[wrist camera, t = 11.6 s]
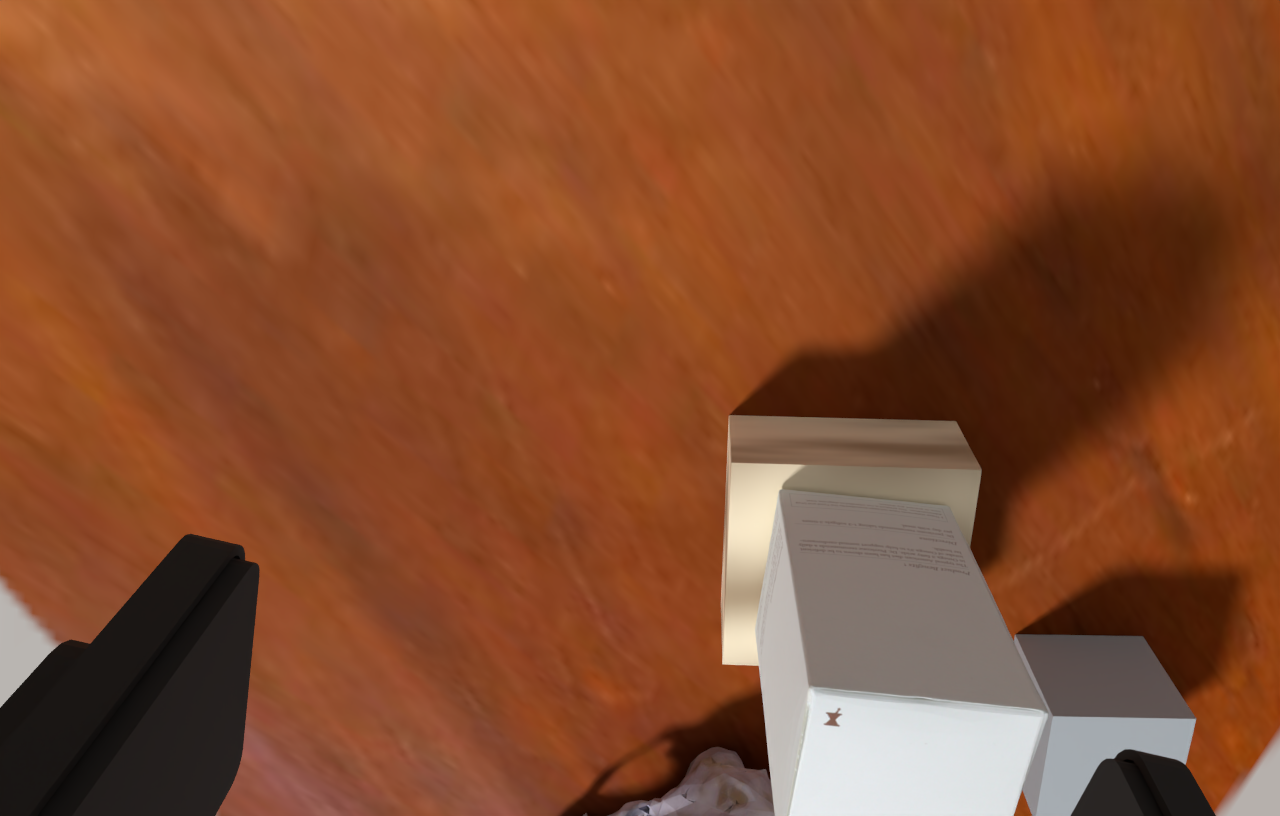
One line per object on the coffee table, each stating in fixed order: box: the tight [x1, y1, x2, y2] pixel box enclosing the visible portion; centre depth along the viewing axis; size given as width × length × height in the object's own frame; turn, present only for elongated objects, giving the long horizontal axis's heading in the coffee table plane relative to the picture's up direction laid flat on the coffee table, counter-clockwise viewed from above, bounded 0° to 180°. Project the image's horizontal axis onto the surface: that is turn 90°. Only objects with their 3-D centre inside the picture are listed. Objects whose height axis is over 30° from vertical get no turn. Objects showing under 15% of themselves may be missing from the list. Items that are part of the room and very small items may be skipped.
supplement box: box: [755, 489, 1049, 816], centre depth 38 cm, size 7×7×13 cm
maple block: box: [721, 415, 982, 666], centre depth 47 cm, size 10×10×5 cm
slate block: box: [1014, 634, 1196, 816], centre depth 49 cm, size 6×6×6 cm
